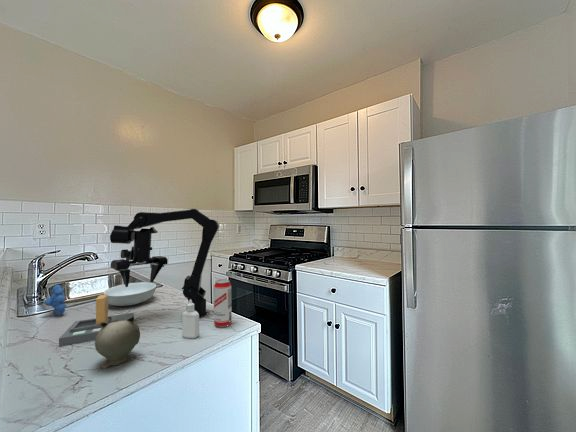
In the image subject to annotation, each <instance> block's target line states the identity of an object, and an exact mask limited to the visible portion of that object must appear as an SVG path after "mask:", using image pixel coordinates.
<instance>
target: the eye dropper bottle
mask: <svg viewBox="0 0 576 432" xmlns="http://www.w3.org/2000/svg"><path fill="white" fill-rule="evenodd" d="M181 335H182V337H184V338H186V339H196V338H198V337H199V336H200V318H199V313H198V312H197V311H195V310H194V303H192V300H189V301H188V303H187V304H186V311H184V312H183V313H182V314H181Z"/></svg>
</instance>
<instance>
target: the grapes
mask: <svg viewBox="0 0 576 432" xmlns="http://www.w3.org/2000/svg"><path fill="white" fill-rule="evenodd" d="M63 288H64V287H63V286H62V285H59V284H56V285H54V286H53V287H52V289H50V293H51V296H50V297H49V298H46V299H45V301H44V302H43V303H44V305H46V306H48V307H50V308H53V310H52V312H53V313H54V314H55V315H57V316H62V315H63V314H64V313H65V311H66V309H65V308H66V307H67V305H66V304H65V301H66V299H67V297H66V296H65V295H64V293H65V291H66V290H64V289H63Z"/></svg>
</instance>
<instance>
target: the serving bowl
mask: <svg viewBox="0 0 576 432" xmlns="http://www.w3.org/2000/svg"><path fill="white" fill-rule="evenodd" d="M156 288H157V284H156V283H151V282H148V281H147V282H145V281H140V282H129V284H128V287H125V284H124V283H123V284H119V285H115V286H113V287H109V288H107V289H105V290H104V291H103V294H102V295H105V294H108V305H112V306H117V307H129V306H135V305H137V304H138V305H139V304H141V303H144V302H146V301H148V300H149V299H151V298H152V297H153V296H154V294H155V293H156V290H157V289H156Z"/></svg>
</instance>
